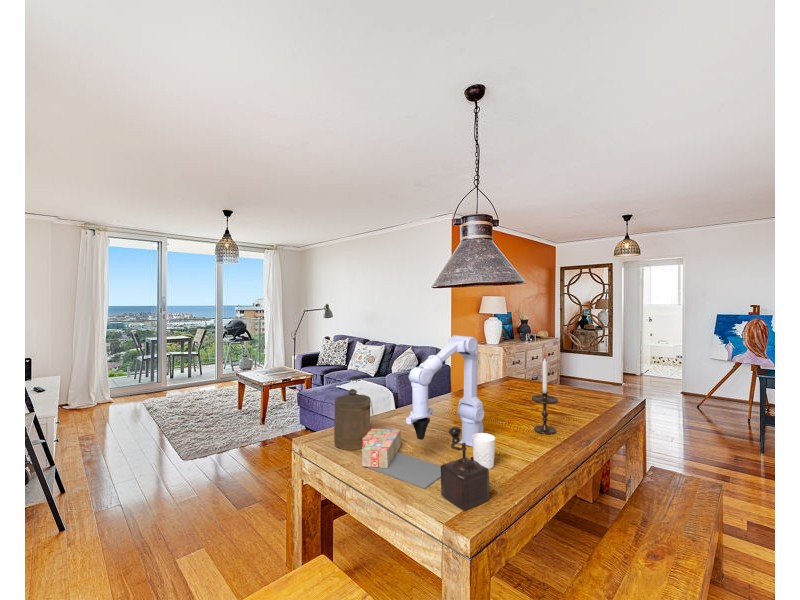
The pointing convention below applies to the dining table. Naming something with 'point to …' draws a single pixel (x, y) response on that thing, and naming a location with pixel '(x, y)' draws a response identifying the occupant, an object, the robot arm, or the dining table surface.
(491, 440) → the white cup
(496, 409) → the dining table surface
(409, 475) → the mat
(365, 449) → the stack of blocks
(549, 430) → the candlestick
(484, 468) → the coffee grinder
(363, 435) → the wooden container
